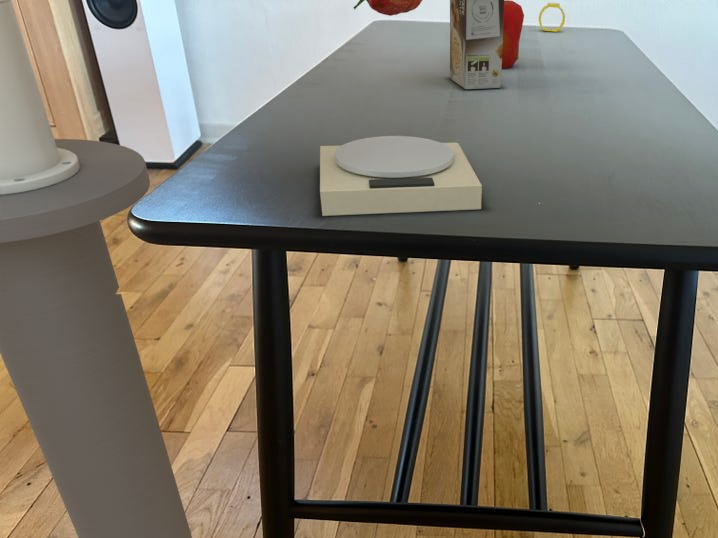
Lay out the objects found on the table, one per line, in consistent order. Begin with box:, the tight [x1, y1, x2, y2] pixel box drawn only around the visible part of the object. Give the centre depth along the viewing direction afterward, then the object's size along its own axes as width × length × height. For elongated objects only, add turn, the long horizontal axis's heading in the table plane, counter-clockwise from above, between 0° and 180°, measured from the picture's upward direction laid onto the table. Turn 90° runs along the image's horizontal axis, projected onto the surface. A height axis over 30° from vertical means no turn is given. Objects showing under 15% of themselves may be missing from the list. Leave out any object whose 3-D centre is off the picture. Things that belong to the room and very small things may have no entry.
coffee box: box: [449, 0, 505, 90], centre depth 108 cm, size 9×6×16 cm
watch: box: [538, 2, 566, 33], centre depth 160 cm, size 6×3×6 cm, turn 92°
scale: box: [319, 135, 483, 217], centre depth 70 cm, size 15×14×3 cm
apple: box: [502, 0, 525, 69], centre depth 122 cm, size 9×8×12 cm
